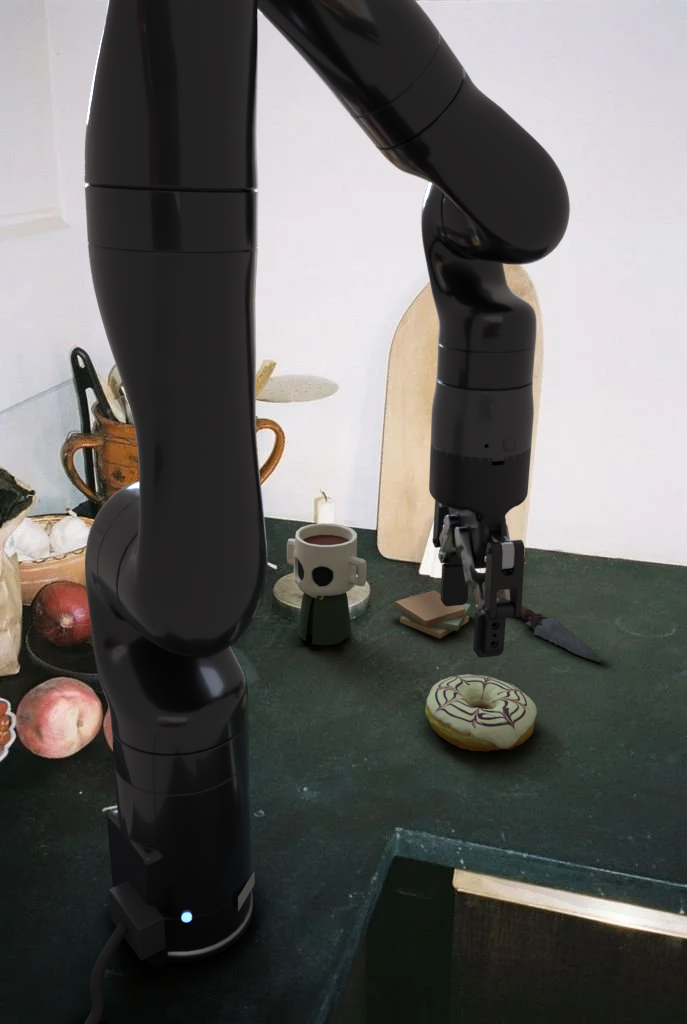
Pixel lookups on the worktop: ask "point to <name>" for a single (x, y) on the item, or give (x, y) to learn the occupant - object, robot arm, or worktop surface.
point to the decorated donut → (480, 713)
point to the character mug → (325, 579)
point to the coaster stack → (432, 614)
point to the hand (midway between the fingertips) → (470, 628)
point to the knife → (556, 633)
